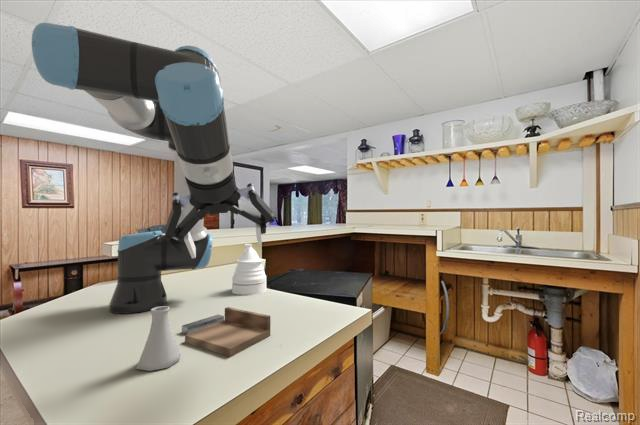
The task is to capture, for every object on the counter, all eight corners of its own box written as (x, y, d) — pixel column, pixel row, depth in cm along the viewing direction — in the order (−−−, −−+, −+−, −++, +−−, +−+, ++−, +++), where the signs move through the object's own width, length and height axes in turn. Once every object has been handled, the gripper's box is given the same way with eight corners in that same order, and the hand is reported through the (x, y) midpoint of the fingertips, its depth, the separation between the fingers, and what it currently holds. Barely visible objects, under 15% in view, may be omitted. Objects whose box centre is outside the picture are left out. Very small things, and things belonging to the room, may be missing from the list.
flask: (149, 354, 57) (150, 303, 57) (186, 352, 57) (187, 302, 58) (127, 373, 49) (128, 315, 50) (171, 371, 50) (172, 313, 50)
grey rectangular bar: (181, 334, 68) (181, 325, 68) (218, 321, 76) (218, 314, 76) (187, 336, 66) (187, 327, 66) (223, 323, 74) (224, 316, 75)
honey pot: (262, 294, 103) (262, 245, 104) (227, 294, 103) (227, 245, 104) (269, 286, 116) (269, 242, 117) (237, 286, 116) (238, 242, 117)
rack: (184, 342, 62) (185, 321, 62) (227, 324, 73) (227, 307, 73) (230, 356, 55) (230, 333, 55) (270, 335, 66) (270, 315, 66)
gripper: (117, 197, 40) (163, 273, 56) (290, 177, 47) (288, 250, 62) (124, 164, 45) (164, 243, 60) (281, 150, 51) (281, 224, 67)
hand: (227, 247), depth 61 cm, fingers open, 13 cm apart
